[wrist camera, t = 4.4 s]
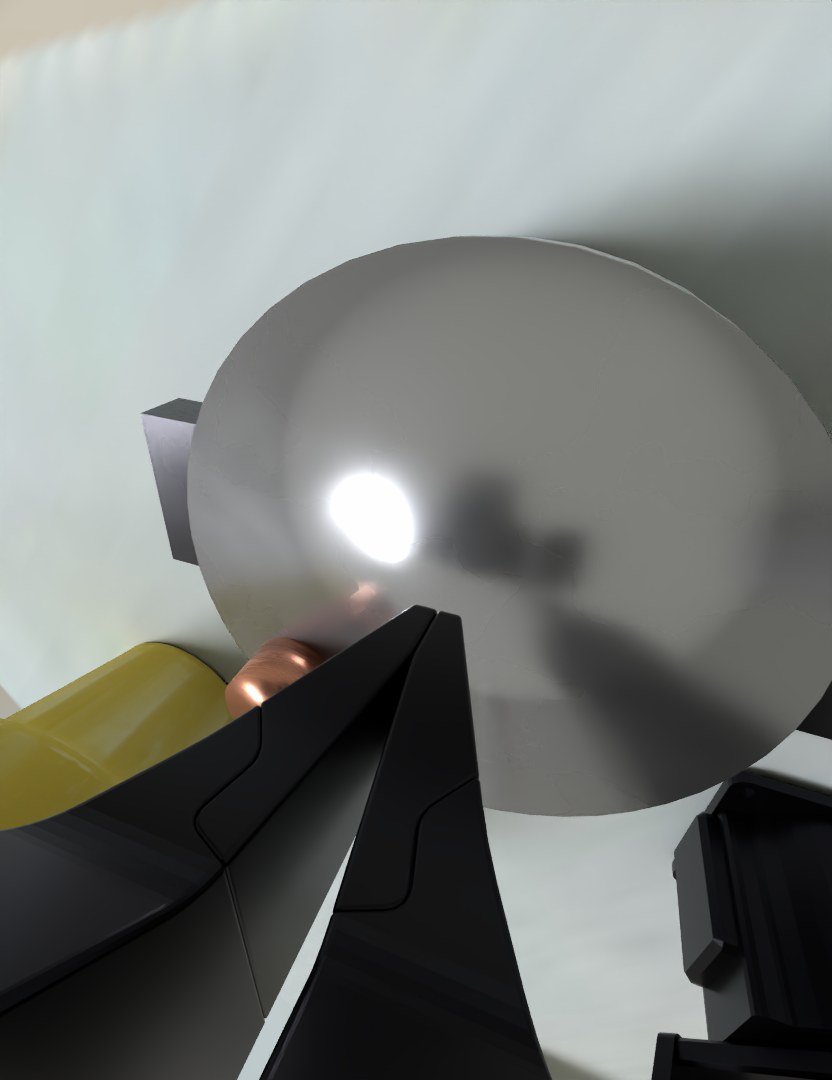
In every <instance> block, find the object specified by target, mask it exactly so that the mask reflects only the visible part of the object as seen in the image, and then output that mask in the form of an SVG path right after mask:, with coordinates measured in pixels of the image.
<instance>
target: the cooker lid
mask: <svg viewBox="0 0 832 1080" xmlns="http://www.w3.org/2000/svg"><path fill="white" fill-rule="evenodd" d="M187 504H188V512H189V520H190V528H191V536H192V540H193V544H194V548H195V552H196V556H197V560H198V564H199V567H200V570H201V572H202V575H203V578H204V580H205V583H206V586H207V588H208V591H209V594H210V596H211V598H212V600H213V602H214V604H215V606H216V608H217V610H218V612H219V614H220V616H221V618H222V620H223V622H224V624H225V625H226V627H227V629H228V630H229V632H230V633H231V635H232V637H233V638H234V640H235V642H236V643H237V645H238V646H239V648H240V649H241V651H242V652H243V653H244V655H245V656H246V657H247V659H248V660H249V661H248V662H247V663H246V664H245V665H244V666H243V668H242V669H241V670H240V671H239V672H238V673H237V675H236V676H235V677H234V678H233V679H232V680H231V682H230V683H229V684H228V685H227V687H226V690H225V701H226V705H227V707H228V709H229V711H230V713H231V715H232V716H233V718H234V719H236V718H238V717H239V716H241V715H243V714H244V713H246V712H247V711H249V710H250V709H252V708H253V707H255V706H257V705H259V706H260V707H261V703H262V702H263V701H265V700H266V699H268V698H269V697H271V696H272V695H274V694H276V693H277V692H279V691H280V690H282V689H283V688H285V687H286V686H288V685H290V684H291V683H293V682H294V681H296V680H297V679H299V678H300V677H302V676H304V675H305V674H307V673H308V672H310V671H311V670H313V669H314V668H316V667H318V666H319V665H321V664H322V663H324V662H325V661H327V660H328V659H330V658H332V657H333V656H335V655H336V654H338V653H339V652H341V651H342V650H344V649H346V648H347V647H349V646H350V645H352V644H353V643H355V642H356V641H358V640H360V639H361V638H363V637H364V636H366V635H367V634H369V633H370V632H372V631H374V630H375V629H377V628H378V627H380V626H381V625H383V624H384V623H386V622H388V621H389V620H391V619H392V618H394V617H395V616H397V615H398V614H400V613H402V612H403V611H405V610H406V609H408V608H409V607H411V606H413V605H421V606H425V607H429V608H433V609H435V610H436V611H437V613H438V612H439V611H444V612H448V613H452V614H456V615H459V616H460V617H461V619H462V627H463V635H464V644H465V653H466V662H467V671H468V680H469V689H470V698H471V707H472V716H473V725H474V734H475V743H476V752H477V761H478V769H479V781H480V785H481V794H482V803H483V807H486V808H491V809H495V810H501V811H508V812H515V813H522V814H529V815H545V816H561V817H568V816H599V815H607V814H615V813H624V812H632V811H637V810H641V809H645V808H650V807H654V806H659V805H663V804H668V803H670V802H673V801H676V800H679V799H682V798H685V797H688V796H691V795H694V794H697V793H700V792H702V791H704V790H706V789H708V788H711V787H713V786H715V785H717V784H719V783H721V782H723V781H725V780H727V779H729V778H731V777H733V776H735V775H737V774H738V773H740V772H741V771H743V770H745V769H746V768H748V767H749V766H751V765H752V764H754V763H755V762H757V761H758V760H760V759H761V758H763V757H764V756H766V755H767V754H768V753H770V752H771V751H772V750H773V749H774V748H775V747H776V746H777V745H779V744H780V743H781V742H782V741H783V740H784V739H785V738H787V737H788V736H789V735H790V734H791V733H792V732H793V731H794V730H796V729H797V727H798V726H799V725H800V724H801V722H802V721H803V720H804V719H805V718H806V716H807V715H808V714H809V713H810V712H811V710H812V709H813V708H814V707H815V705H816V704H817V703H818V702H819V701H820V699H821V698H822V696H823V695H824V693H825V691H826V689H827V688H828V686H829V684H830V682H831V681H832V443H831V441H830V438H829V436H828V434H827V432H826V430H825V428H824V426H823V424H822V423H821V422H820V420H819V419H818V417H817V416H816V414H815V413H814V412H813V410H812V409H811V407H810V406H809V404H808V403H807V402H806V400H805V399H804V397H803V396H802V394H801V393H800V392H799V390H798V389H797V387H796V386H795V384H794V383H793V382H792V380H791V379H790V378H789V377H788V376H787V375H786V374H785V373H784V372H783V371H782V370H781V369H780V368H779V367H778V366H777V365H776V364H775V363H774V362H773V361H772V360H771V359H770V358H769V357H768V356H767V355H766V354H765V352H764V351H763V350H762V349H761V348H760V347H759V346H758V345H757V344H756V343H755V342H754V341H753V340H752V339H751V338H750V337H749V336H748V335H747V334H745V333H744V332H743V331H742V330H741V329H740V328H738V327H737V326H736V325H735V324H734V323H732V322H731V321H730V320H729V319H727V318H726V317H724V316H723V315H722V314H720V313H719V312H718V311H716V310H715V309H713V308H712V307H711V306H709V305H708V304H706V303H705V302H704V301H702V300H701V299H700V298H698V297H697V296H695V295H694V294H693V293H691V292H690V291H688V290H687V289H686V288H684V287H682V286H680V285H678V284H676V283H674V282H672V281H670V280H668V279H666V278H664V277H662V276H660V275H658V274H656V273H654V272H652V271H650V270H648V269H646V268H644V267H642V266H640V265H638V264H636V263H634V262H631V261H628V260H625V259H622V258H619V257H616V256H613V255H610V254H607V253H604V252H600V251H597V250H594V249H591V248H588V247H585V246H582V245H577V244H571V243H565V242H559V241H552V240H546V239H540V238H534V237H528V236H460V237H450V238H443V239H436V240H429V241H422V242H415V243H409V244H402V245H397V246H394V247H391V248H387V249H384V250H381V251H378V252H375V253H371V254H368V255H365V256H362V257H359V258H355V259H352V260H349V261H347V262H345V263H343V264H341V265H339V266H337V267H335V268H333V269H331V270H329V271H327V272H325V273H323V274H321V275H319V276H317V277H315V278H313V279H311V280H309V281H307V282H305V283H304V284H303V285H301V286H300V287H298V288H297V289H296V290H294V291H293V292H292V293H290V294H289V295H287V296H286V297H285V298H283V299H282V300H281V301H279V302H278V303H277V304H275V305H274V306H272V307H271V308H270V309H269V310H268V311H267V312H266V313H265V314H264V315H263V316H262V317H261V318H260V319H259V320H258V321H257V322H256V323H255V324H254V325H253V326H252V327H251V328H250V329H249V330H248V331H247V332H246V333H245V334H244V335H243V336H242V337H241V338H240V340H239V341H238V343H237V344H236V345H235V347H234V348H233V350H232V351H231V353H230V354H229V355H228V357H227V358H226V360H225V361H224V363H223V364H222V366H221V367H220V368H219V370H218V372H217V374H216V376H215V378H214V380H213V382H212V384H211V386H210V388H209V391H208V393H207V395H206V397H205V399H204V401H203V403H202V406H201V409H200V413H199V416H198V420H197V423H196V426H195V430H194V433H193V436H192V442H191V449H190V456H189V463H188V470H187Z"/></svg>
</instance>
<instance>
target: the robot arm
mask: <svg viewBox="0 0 832 1080" xmlns="http://www.w3.org/2000/svg"><path fill="white" fill-rule="evenodd" d="M355 836H356V838H355ZM354 838H355V841H354V844H353V847H352V850H351V854H350V857H349V860H348V863H347V866H346V870H345V873H344V876H343V879H342V882H341V886H340V889H339V892H338V895H337V898H336V902H335V905H334V908H333V915H332V916H331V918H330V921H329V924H328V927H327V930H326V933H325V936H324V939H323V942H322V945H321V948H320V950H319V953H318V956H317V958H316V961H315V964H314V966H313V969H312V971H311V973H310V975H309V977H308V980H307V982H306V984H305V986H304V988H303V990H302V992H301V994H300V996H299V998H298V1000H297V1002H296V1004H295V1006H294V1008H293V1011H292V1013H291V1015H290V1017H289V1019H288V1021H287V1023H286V1025H285V1027H284V1030H283V1031H282V1033H281V1036H280V1037H279V1039H278V1042H277V1044H276V1046H275V1048H274V1050H273V1052H272V1054H271V1056H270V1058H269V1060H268V1062H267V1064H266V1066H265V1068H264V1071H263V1073H262V1075H261V1077H260V1079H259V1080H552V1078H551V1076H550V1073H549V1070H548V1067H547V1065H546V1062H545V1059H544V1056H543V1053H542V1050H541V1047H540V1044H539V1041H538V1038H537V1035H536V1032H535V1028H534V1025H533V1021H532V1018H531V1015H530V1011H529V1007H528V1004H527V1000H526V996H525V993H524V989H523V985H522V981H521V977H520V973H519V969H518V965H517V961H516V957H515V953H514V949H513V945H512V941H511V937H510V933H509V929H508V925H507V921H506V917H505V913H504V909H503V905H502V901H501V897H500V893H499V889H498V885H497V880H496V876H495V871H494V866H493V862H492V857H491V852H490V847H489V843H488V837H487V830H486V823H485V817H484V810H483V803H482V794H481V785H480V781H479V769H478V761H477V752H476V743H475V734H474V725H473V716H472V707H471V698H470V689H469V680H468V671H467V662H466V653H465V644H464V635H463V627H462V619H461V617H460V616H459V615H456V614H452V613H448V612H444V611H439V612H438V613H437V611H436V610H435V609H433V608H429V607H425V606H421V605H413V606H411V607H409V608H408V609H406V610H405V611H403V612H402V613H400V614H398V615H397V616H395V617H394V618H392V619H391V620H389V621H388V622H386V623H384V624H383V625H381V626H380V627H378V628H377V629H375V630H374V631H372V632H370V633H369V634H367V635H366V636H364V637H363V638H361V639H360V640H358V641H356V642H355V643H353V644H352V645H350V646H349V647H347V648H346V649H344V650H342V651H341V652H339V653H338V654H336V655H335V656H333V657H332V658H330V659H328V660H327V661H325V662H324V663H322V664H321V665H319V666H318V667H316V668H314V669H313V670H311V671H310V672H308V673H307V674H305V675H304V676H302V677H300V678H299V679H297V680H296V681H294V682H293V683H291V684H290V685H288V686H286V687H285V688H283V689H282V690H280V691H279V692H277V693H276V694H274V695H272V696H271V697H269V698H268V699H266V700H265V701H263V702H262V703H261V707H260V706H259V705H257V706H255V707H253V708H252V709H250V710H249V711H247V712H246V713H244V714H243V715H241V716H239V717H238V718H236V719H235V720H233V721H231V722H230V723H228V724H226V725H225V726H223V727H221V728H220V729H218V730H217V731H215V732H213V733H212V734H210V735H208V736H207V737H205V738H203V739H201V740H199V741H198V742H196V743H194V744H192V745H190V746H188V747H187V748H185V749H183V750H181V751H179V752H178V753H176V754H174V755H172V756H170V757H168V758H166V759H165V760H163V761H161V762H159V763H157V764H155V765H153V766H151V767H149V768H147V769H145V770H143V771H141V772H140V773H138V774H136V775H134V776H132V777H130V778H128V779H126V780H124V781H122V782H120V783H118V784H116V785H115V786H113V787H111V788H109V789H107V790H105V791H103V792H101V793H99V794H97V795H95V796H93V797H91V798H90V799H88V800H86V801H84V802H82V803H80V804H78V805H76V806H74V807H72V808H69V809H67V810H65V811H63V812H61V813H58V814H56V815H53V816H51V817H48V818H45V819H42V820H39V821H36V822H33V823H30V824H27V825H23V826H19V827H15V828H10V829H4V830H0V1080H237V1078H238V1076H239V1074H240V1072H241V1070H242V1068H243V1066H244V1064H245V1062H246V1060H247V1058H248V1056H249V1054H250V1052H251V1050H252V1048H253V1045H254V1044H255V1041H256V1039H257V1037H258V1035H259V1033H260V1031H261V1029H262V1027H263V1025H264V1023H265V1020H264V1018H267V1016H268V1014H269V1012H270V1010H271V1008H272V1006H273V1004H274V1002H275V1000H276V998H277V996H278V994H279V992H280V990H281V988H282V986H283V984H284V982H285V980H286V978H287V975H288V973H289V971H290V969H291V967H292V965H293V963H294V961H295V959H296V957H297V955H298V953H299V951H300V949H301V947H302V945H303V943H304V941H305V939H306V936H307V934H308V932H309V930H310V928H311V926H312V924H313V922H314V920H315V918H316V916H317V914H318V912H319V910H320V908H321V906H322V904H323V902H324V900H325V898H326V895H327V893H328V891H329V889H330V887H331V885H332V883H333V881H334V879H335V877H336V875H337V873H338V871H339V869H340V867H341V865H342V863H343V861H344V859H345V856H346V854H347V852H348V850H349V848H350V846H351V844H352V842H353V840H354ZM674 857H675V859H674V860H673V862H672V871H673V876H674V878H675V879H676V881H677V893H678V905H679V917H680V929H681V941H682V953H683V965H684V972H685V973H686V975H687V977H688V978H689V980H690V982H691V983H693V984H695V985H698V986H701V987H703V995H704V1004H705V1013H706V1023H707V1032H708V1040H701V1039H688V1038H682V1037H681V1036H680V1035H679V1034H675V1033H661V1032H660V1033H658V1036H657V1043H656V1050H655V1057H654V1065H653V1072H652V1080H832V797H830V796H827V795H823V794H820V793H817V792H813V791H810V790H807V789H803V788H800V787H797V786H793V785H790V784H786V783H783V782H780V781H776V780H773V779H770V778H766V777H763V776H760V775H756V774H753V773H750V772H744V771H741V772H740V773H738V774H737V775H735V776H733V777H731V778H729V779H727V780H725V781H724V782H723V783H722V785H721V787H720V788H719V790H718V791H717V793H716V794H715V796H714V798H713V799H712V801H711V802H710V804H709V805H708V807H707V809H706V810H705V812H702V813H700V814H699V815H697V816H696V817H695V819H694V821H693V822H692V824H691V825H690V827H689V829H688V830H687V832H686V833H685V835H684V837H683V838H682V840H681V841H680V843H679V844H678V846H677V848H676V849H675V851H674Z"/></svg>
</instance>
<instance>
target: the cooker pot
mask: <svg viewBox="0 0 832 1080" xmlns="http://www.w3.org/2000/svg"><path fill="white" fill-rule="evenodd" d="M202 403H203V402H197V401H192V400H187V399H181V398H178V399H175V400H173V401H170V402H168V403H165V404H163V405H160V406H158V407H155V408H153V409H150V410H148V411H145V412H143V413H141V417H142V422H143V426H144V431H145V435H146V440H147V444H148V448H149V453H150V457H151V462H152V466H153V471H154V475H155V480H156V484H157V489H158V493H159V498H160V502H161V507H162V511H163V515H164V520H165V524H166V529H167V533H168V538H169V542H170V547H171V551H172V556H173V559H176V560H180V561H183V562H187V563H191V564H194V565H198V566H199V564H198V560H197V556H196V552H195V548H194V544H193V540H192V536H191V528H190V520H189V512H188V504H187V470H188V463H189V456H190V449H191V442H192V436H193V433H194V430H195V426H196V423H197V420H198V416H199V413H200V409H201V406H202ZM796 730H799V731H802V732H806V733H809V734H813V735H817V736H820V737H824V738H828V739H831V740H832V681H831V682H830V684H829V686H828V688H827V689H826V691H825V693H824V695H823V696H822V698H821V699H820V701H819V702H818V703H817V704H816V705H815V707H814V708H813V709H812V710H811V712H810V713H809V714H808V715H807V716H806V718H805V719H804V720H803V721H802V722H801V724H800V725H799V726H798V727H797V729H796Z"/></svg>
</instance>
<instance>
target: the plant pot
mask: <svg viewBox="0 0 832 1080" xmlns="http://www.w3.org/2000/svg"><path fill="white" fill-rule="evenodd" d="M226 687H227V685H226V684H225V683H224V681H223V680H222V679H221V678H220V677H219V676H218V675H217V674H216V673H215V672H214V671H213V670H212V669H211V668H210V667H208V666H207V665H206V664H204V663H203V662H202V661H200V660H199V659H197V658H196V657H194V656H193V655H191V654H189V653H187V652H185V651H183V650H181V649H179V648H176V647H174V646H171V645H167V644H163V643H144V644H140V645H137V646H135V647H134V648H132V649H130V650H128V651H127V652H125V653H123V654H122V655H120V656H118V657H116V658H114V659H113V660H111V661H109V662H107V663H106V664H104V665H102V666H100V667H98V668H97V669H95V670H93V671H91V672H89V673H87V674H86V675H84V676H82V677H80V678H78V679H77V680H75V681H73V682H71V683H70V684H68V685H66V686H64V687H63V688H61V689H59V690H57V691H55V692H53V693H52V694H50V695H48V696H46V697H44V698H42V699H41V700H39V701H37V702H35V703H33V704H31V705H30V706H28V707H26V708H24V709H22V710H21V711H19V712H17V713H15V714H13V715H11V716H10V717H8V718H6V719H0V830H4V829H10V828H15V827H19V826H23V825H27V824H30V823H33V822H36V821H39V820H42V819H45V818H48V817H51V816H53V815H56V814H58V813H61V812H63V811H65V810H67V809H69V808H72V807H74V806H76V805H78V804H80V803H82V802H84V801H86V800H88V799H90V798H91V797H93V796H95V795H97V794H99V793H101V792H103V791H105V790H107V789H109V788H111V787H113V786H115V785H116V784H118V783H120V782H122V781H124V780H126V779H128V778H130V777H132V776H134V775H136V774H138V773H140V772H141V771H143V770H145V769H147V768H149V767H151V766H153V765H155V764H157V763H159V762H161V761H163V760H165V759H166V758H168V757H170V756H172V755H174V754H176V753H178V752H179V751H181V750H183V749H185V748H187V747H188V746H190V745H192V744H194V743H196V742H198V741H199V740H201V739H203V738H205V737H207V736H208V735H210V734H212V733H213V732H215V731H217V730H218V729H220V728H221V727H223V726H225V725H226V724H228V723H230V722H231V721H233V720H235V719H234V718H233V716H232V715H231V713H230V711H229V709H228V707H227V705H226V701H225V690H226Z"/></svg>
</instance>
